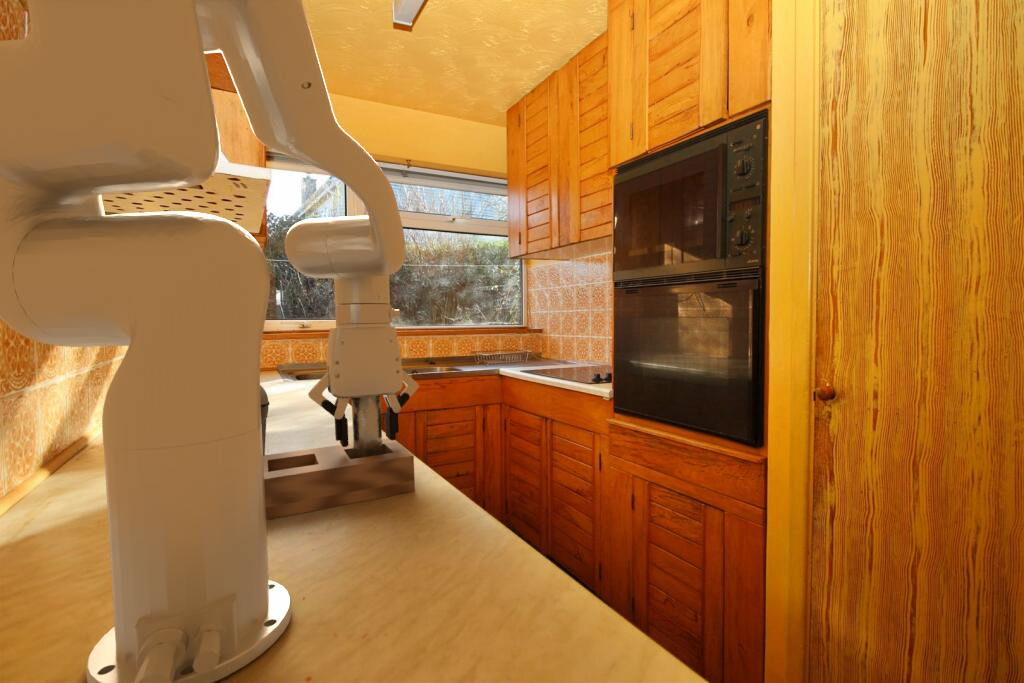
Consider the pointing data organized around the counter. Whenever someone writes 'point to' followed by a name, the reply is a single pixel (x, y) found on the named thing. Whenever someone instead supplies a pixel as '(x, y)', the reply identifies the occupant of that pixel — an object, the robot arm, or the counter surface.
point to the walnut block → (334, 477)
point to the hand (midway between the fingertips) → (367, 440)
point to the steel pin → (367, 426)
